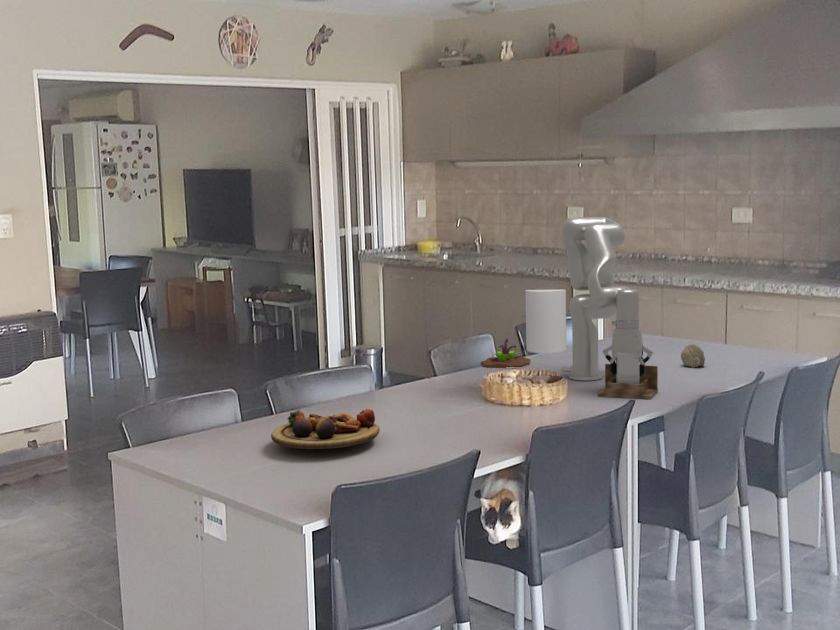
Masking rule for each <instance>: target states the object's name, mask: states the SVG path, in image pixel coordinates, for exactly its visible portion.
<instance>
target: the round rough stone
mask: <svg viewBox="0 0 840 630" xmlns="http://www.w3.org/2000/svg"><path fill="white" fill-rule="evenodd" d="M680 358H681V362H682V364H683V365H685V367H687V366H688V368H692V367H693V369H694V368H700V367H704V365H705V361H706V358H705V355H704V351H703V349H702V348H701V347H700V346H699V345H697V344H695V343H694V344H693V343H689V344H686V345H684V349H682V350H681V353H680ZM699 366H700V367H699Z"/></svg>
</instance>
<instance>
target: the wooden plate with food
mask: <svg viewBox="0 0 840 630" xmlns="http://www.w3.org/2000/svg"><path fill="white" fill-rule="evenodd" d="M375 421H376V416H375V412H374V410H373V409H371V408H366V409H363V410H361V411H360V412H359V413H358V414H357V415H356V418H355V417H354V416H353V415H351V414H350V413H347V412H340V413H335V414H333V415H326V416H324V415H323V416H322V415H319V414H314V413H310V414H309V416H308V417H306V416H305V415H304V412H303V411H301V409H299V410H298V409H296V411H295V410H294V411H293V412H290V413H289V416H288V417H287V423H285V424H282V425H279V426H278V427H276V428H274V429H273V431H272V432H271V436H270V437H271V440H272V441H273V442H274V443H275V444H277V445H278V446H279V445H280V446H283V447H285V448H291V449H301V450H325V449H328V450H329V449H339V448H346V447H351V446H356V445H360V444H361V445H362V444H364V443H367V442H370V441H371V440H373V439H375V438H376V437H378V435H379V433H380V427H379V425H378V424H377V423H375Z"/></svg>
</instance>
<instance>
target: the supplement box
mask: <svg viewBox="0 0 840 630" xmlns="http://www.w3.org/2000/svg"><path fill="white" fill-rule="evenodd" d="M615 362H616V383H625V384H639V365H640V362H639V359H635V358H634V353H617V358H616V360H615Z"/></svg>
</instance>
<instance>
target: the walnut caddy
mask: <svg viewBox="0 0 840 630" xmlns="http://www.w3.org/2000/svg"><path fill="white" fill-rule="evenodd" d="M658 367H659V366H658V365H645V373H644V374H643V375H642V376H639V384H625V383H616V374H615V375H612V372H611V363H605V364H604V369H605V370H604V371H605V372H604V377H605V379H604V381H605V382H604V385H605V386H604V387H603V388H602V389H601V390H599V391H598V392H597V397H598V398H600V397H601V398H616V399H617V398H618V399H637V400H652V399H653V398H654V397H655V396H656V395H657V393H658V392H659V387H658V386H659V385H658V380H659V379H658V376H659V375H658V374H659V372H658Z"/></svg>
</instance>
